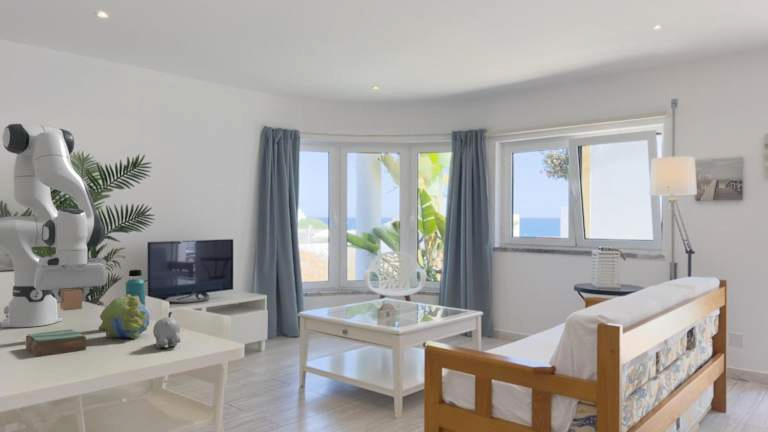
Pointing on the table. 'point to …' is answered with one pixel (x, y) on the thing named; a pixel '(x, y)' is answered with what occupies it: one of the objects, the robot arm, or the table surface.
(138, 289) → the beverage bottle
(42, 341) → the green lidded wooden box
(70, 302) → the terracotta block
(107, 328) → the earth globe model
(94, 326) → the table surface
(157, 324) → the round bodied animal figurine
